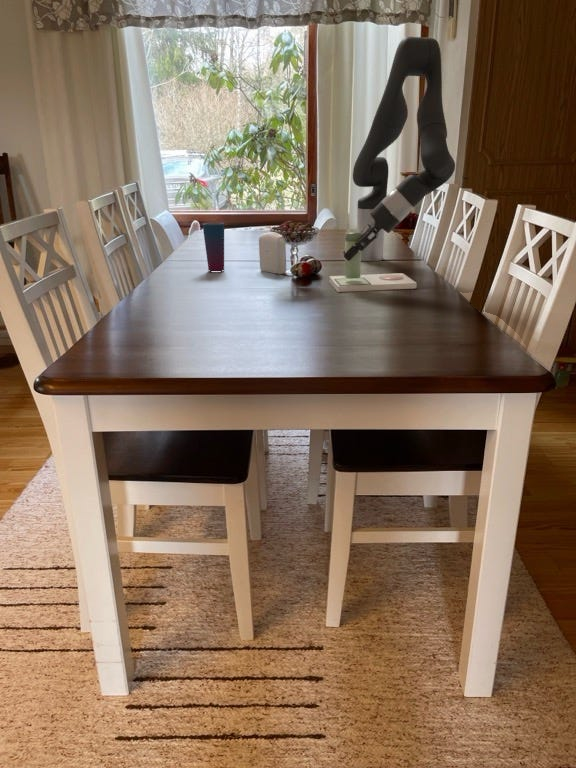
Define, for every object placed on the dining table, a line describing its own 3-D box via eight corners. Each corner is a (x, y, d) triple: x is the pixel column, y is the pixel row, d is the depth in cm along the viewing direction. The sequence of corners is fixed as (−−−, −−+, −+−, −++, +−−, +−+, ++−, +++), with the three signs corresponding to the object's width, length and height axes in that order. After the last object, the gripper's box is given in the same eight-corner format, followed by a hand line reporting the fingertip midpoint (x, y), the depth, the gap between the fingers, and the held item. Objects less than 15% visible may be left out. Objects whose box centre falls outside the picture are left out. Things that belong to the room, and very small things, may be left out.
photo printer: (258, 270, 195) (256, 231, 191) (268, 268, 198) (267, 230, 193) (277, 275, 188) (276, 234, 183) (288, 273, 190) (287, 233, 186)
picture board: (329, 281, 178) (329, 275, 177) (402, 278, 180) (402, 272, 179) (337, 291, 165) (337, 285, 164) (416, 288, 167) (416, 282, 166)
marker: (343, 275, 171) (343, 232, 166) (358, 274, 171) (359, 231, 167) (346, 278, 167) (346, 234, 162) (362, 278, 167) (363, 233, 163)
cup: (202, 272, 194) (198, 224, 189) (212, 268, 200) (209, 222, 195) (220, 273, 192) (217, 225, 186) (230, 269, 198) (228, 222, 192)
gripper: (379, 198, 167) (335, 243, 173) (384, 203, 154) (336, 251, 159) (398, 217, 169) (354, 261, 174) (404, 224, 156) (356, 271, 161)
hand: (345, 256), depth 167 cm, fingers closed on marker, 4 cm apart
